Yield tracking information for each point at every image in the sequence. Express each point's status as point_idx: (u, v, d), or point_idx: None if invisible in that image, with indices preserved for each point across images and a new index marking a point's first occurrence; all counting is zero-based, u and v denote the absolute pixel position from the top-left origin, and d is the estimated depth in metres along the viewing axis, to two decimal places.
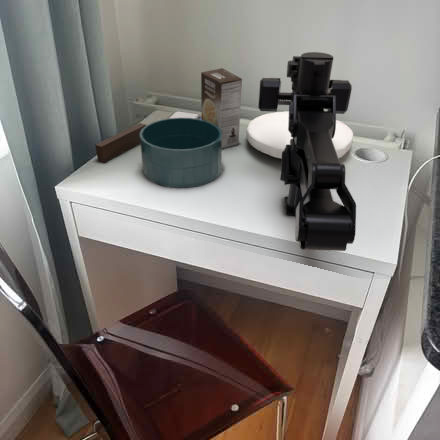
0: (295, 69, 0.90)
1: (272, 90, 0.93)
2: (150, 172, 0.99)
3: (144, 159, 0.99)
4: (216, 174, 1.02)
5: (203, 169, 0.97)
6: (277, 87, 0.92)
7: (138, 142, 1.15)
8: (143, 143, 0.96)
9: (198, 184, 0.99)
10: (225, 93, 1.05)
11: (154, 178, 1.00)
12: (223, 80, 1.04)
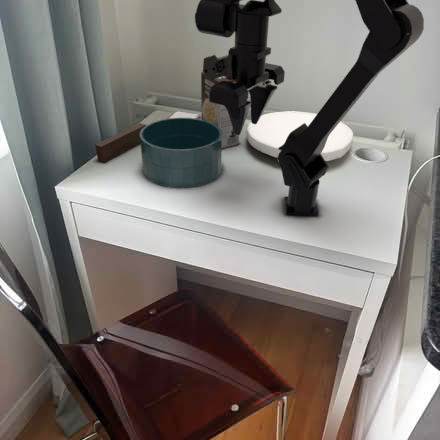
0: None
1: (222, 83, 0.80)
2: (150, 172, 0.99)
3: (144, 159, 0.99)
4: (216, 174, 1.02)
5: (203, 169, 0.97)
6: (222, 81, 0.81)
7: (138, 142, 1.15)
8: (143, 143, 0.96)
9: (198, 184, 0.99)
10: None
11: (154, 178, 1.00)
12: None
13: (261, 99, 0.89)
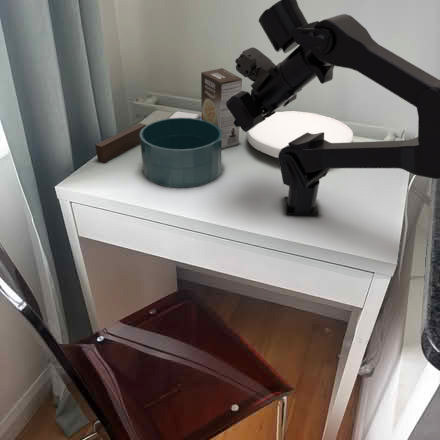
0: None
1: (247, 97, 0.79)
2: (150, 172, 0.99)
3: (144, 159, 0.99)
4: (216, 174, 1.02)
5: (203, 169, 0.97)
6: (247, 93, 0.79)
7: (138, 142, 1.15)
8: (143, 143, 0.96)
9: (198, 184, 0.99)
10: (225, 93, 1.05)
11: (154, 178, 1.00)
12: (223, 80, 1.04)
13: None
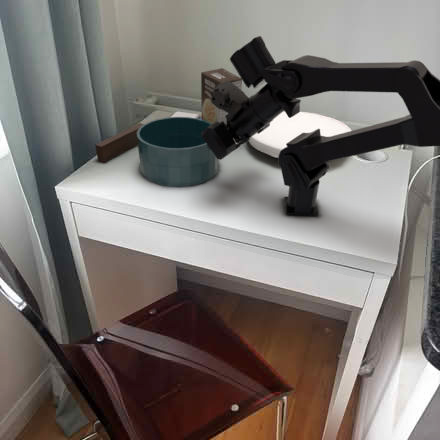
0: None
1: (220, 128, 0.85)
2: (147, 171, 1.00)
3: (141, 158, 1.00)
4: (213, 173, 1.02)
5: (200, 168, 0.98)
6: (221, 124, 0.86)
7: None
8: (140, 142, 0.97)
9: (195, 183, 0.99)
10: None
11: (151, 177, 1.00)
12: (223, 80, 1.04)
13: None
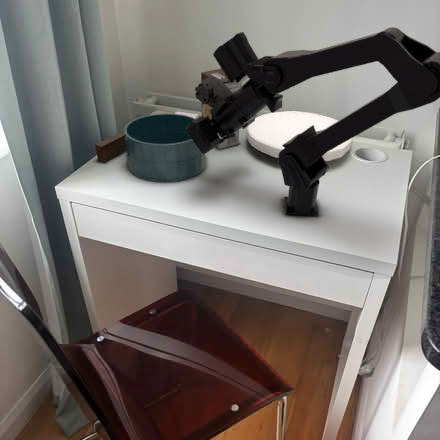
0: (204, 98, 0.88)
1: (204, 123, 0.87)
2: (134, 167, 1.01)
3: (128, 154, 1.01)
4: (199, 169, 1.03)
5: (186, 164, 0.99)
6: (205, 118, 0.87)
7: None
8: (127, 138, 0.98)
9: (181, 178, 1.01)
10: None
11: (138, 173, 1.01)
12: (223, 80, 1.04)
13: None
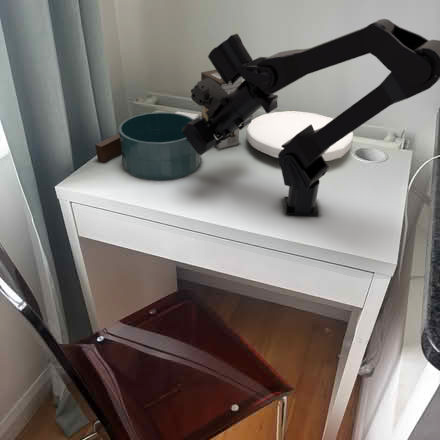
0: None
1: (200, 124, 0.87)
2: (129, 166, 1.02)
3: (123, 152, 1.02)
4: (194, 167, 1.04)
5: (180, 162, 1.00)
6: (201, 120, 0.88)
7: None
8: (122, 136, 0.99)
9: (176, 177, 1.02)
10: None
11: (133, 171, 1.02)
12: None
13: None
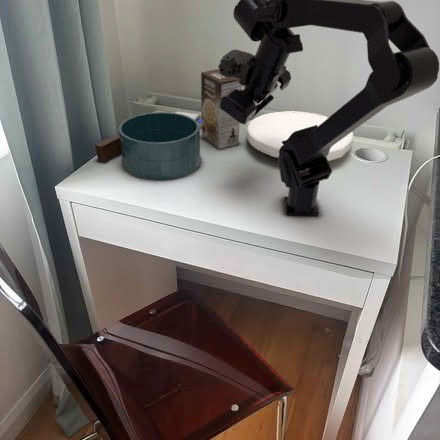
0: (230, 72, 0.88)
1: (235, 93, 0.85)
2: (129, 166, 1.02)
3: (123, 152, 1.02)
4: (194, 167, 1.04)
5: (180, 162, 1.00)
6: (235, 89, 0.86)
7: None
8: (122, 136, 0.99)
9: (176, 177, 1.02)
10: (225, 93, 1.05)
11: (133, 171, 1.02)
12: (223, 80, 1.04)
13: None
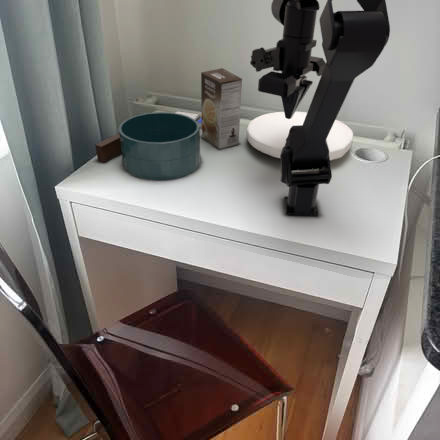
0: None
1: (271, 73, 0.85)
2: (129, 166, 1.02)
3: (123, 152, 1.02)
4: (194, 167, 1.04)
5: (180, 162, 1.00)
6: (271, 71, 0.86)
7: None
8: (122, 136, 0.99)
9: (176, 177, 1.02)
10: (225, 93, 1.05)
11: (133, 171, 1.02)
12: (223, 80, 1.04)
13: None
